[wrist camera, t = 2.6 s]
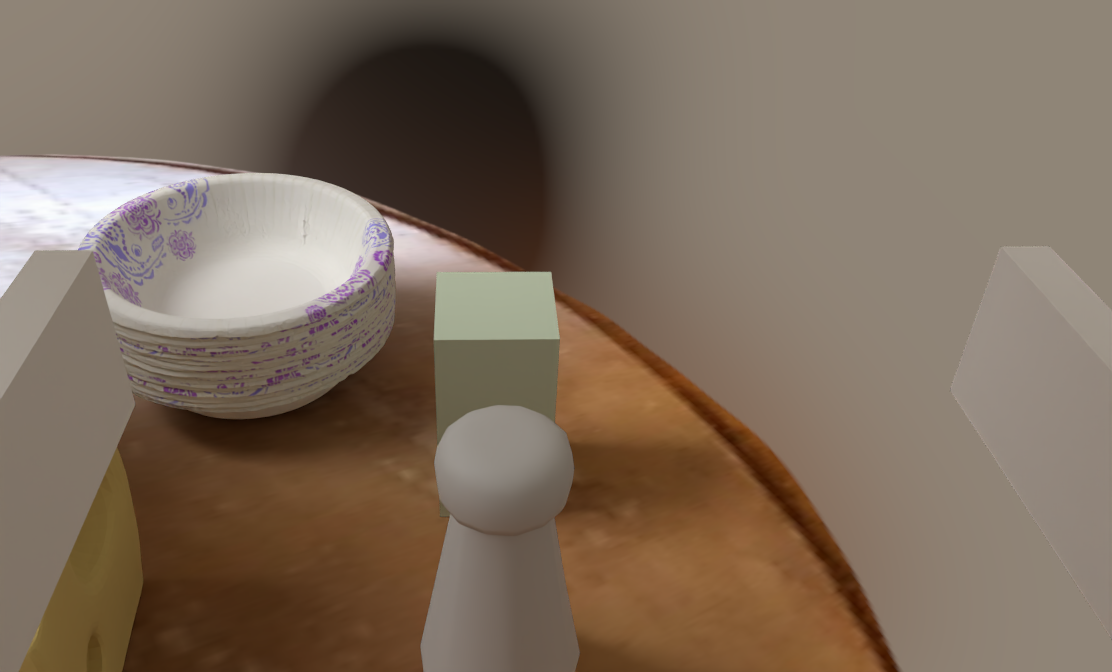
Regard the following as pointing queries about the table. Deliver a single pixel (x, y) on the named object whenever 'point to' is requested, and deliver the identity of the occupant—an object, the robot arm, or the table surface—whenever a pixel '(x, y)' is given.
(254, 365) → the paper bowls
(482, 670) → the salt shaker
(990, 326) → the robot arm
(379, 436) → the table surface
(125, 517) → the cheese
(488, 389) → the sage block
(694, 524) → the table surface
